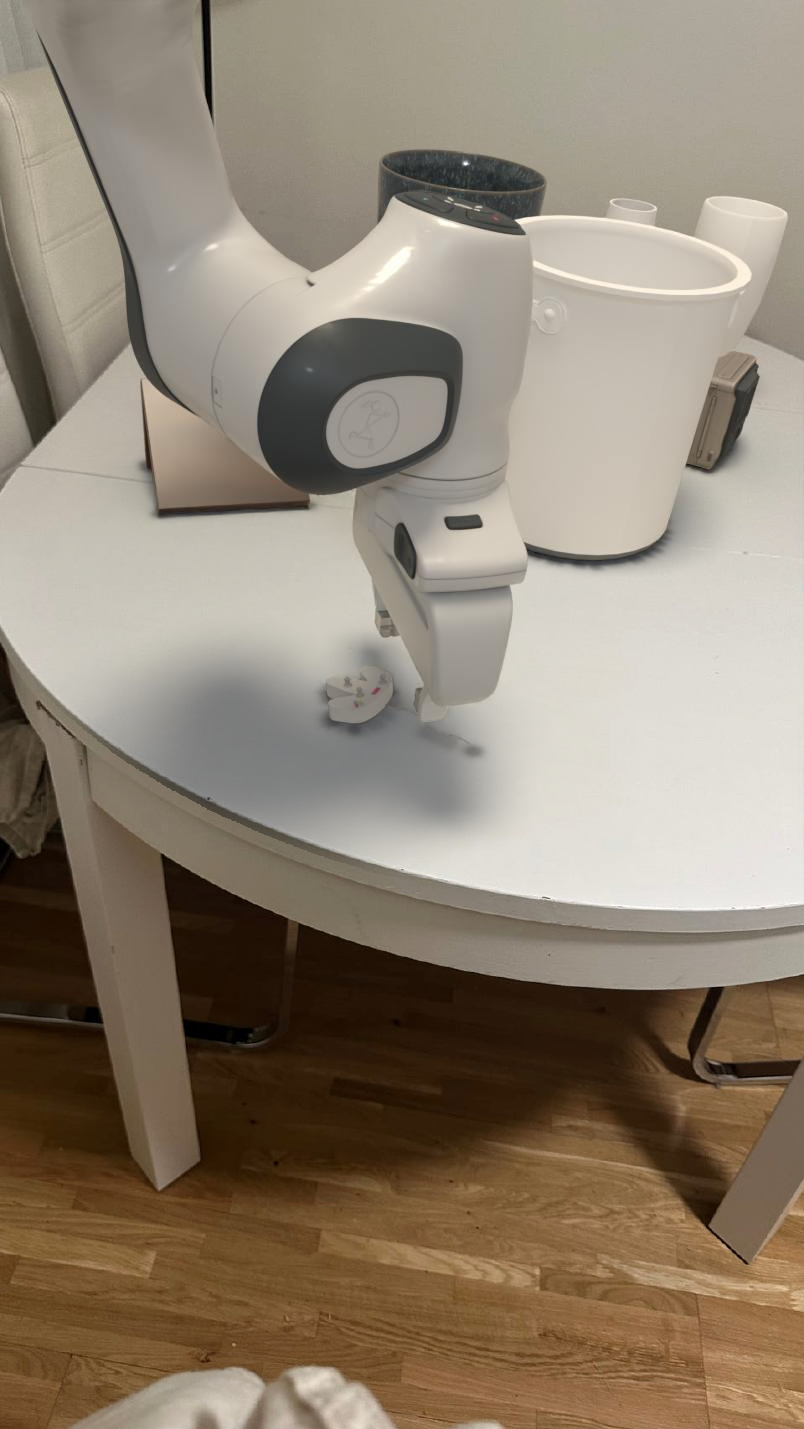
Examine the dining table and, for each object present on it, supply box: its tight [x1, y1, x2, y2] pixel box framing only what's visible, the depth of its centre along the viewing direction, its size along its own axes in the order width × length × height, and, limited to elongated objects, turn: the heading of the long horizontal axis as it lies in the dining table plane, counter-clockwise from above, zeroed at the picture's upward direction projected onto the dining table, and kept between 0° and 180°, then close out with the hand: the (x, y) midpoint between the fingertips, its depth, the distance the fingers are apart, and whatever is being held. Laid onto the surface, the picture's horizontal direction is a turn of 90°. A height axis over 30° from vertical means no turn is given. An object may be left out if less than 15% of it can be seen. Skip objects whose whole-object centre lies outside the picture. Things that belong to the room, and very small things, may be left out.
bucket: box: [505, 214, 752, 562], centre depth 92 cm, size 26×22×24 cm
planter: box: [376, 148, 548, 225], centre depth 123 cm, size 20×20×21 cm
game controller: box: [325, 665, 475, 750], centre depth 73 cm, size 6×12×3 cm, turn 80°
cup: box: [693, 195, 789, 357], centre depth 122 cm, size 10×10×22 cm
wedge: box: [140, 378, 311, 515], centre depth 94 cm, size 11×14×9 cm
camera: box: [686, 350, 761, 470], centre depth 111 cm, size 11×6×10 cm, turn 149°
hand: (407, 671), depth 70 cm, fingers open, 8 cm apart
